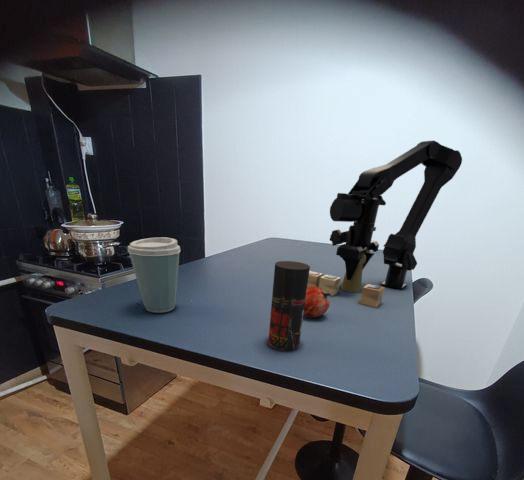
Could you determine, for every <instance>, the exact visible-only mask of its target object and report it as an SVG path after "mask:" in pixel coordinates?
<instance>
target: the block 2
mask: <svg viewBox="0 0 524 480" xmlns="http://www.w3.org/2000/svg"><path fill="white" fill-rule="evenodd" d="M341 279H342V277H340V276H335V275H330V274H324V275H323V276H322V277H320V281H319V287H318V288H321V289H323V290H324V291H325V293H330V294H331V295H332V296H330V295H329V296H330V297H333V296H335V295H337V294H339V290H340V284H341ZM329 296H328V297H329Z"/></svg>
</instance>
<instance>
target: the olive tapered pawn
mask: <svg viewBox="0 0 524 480" xmlns="http://www.w3.org/2000/svg"><path fill="white" fill-rule="evenodd" d="M361 258H363V259H362V261H361V263H360V265H359V266H358V268H357V270H356V272H355V273H354V275H353V277H352V279H351V280H347V276H346V272H345V274H344V276H343V280H342V283H341V286H340V289H341V290H342V291H345V292H348V293H349V292H350V293H359V292H362V282H363V280H362V279H363V270H364V269H363V264H364V263H365V261H366V255H365V254H364V253H363V255H362V257H361ZM362 269H363V270H362Z"/></svg>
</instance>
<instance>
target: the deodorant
mask: <svg viewBox="0 0 524 480" xmlns="http://www.w3.org/2000/svg"><path fill="white" fill-rule="evenodd" d="M310 269H311V266H310V265H309V264H307V263H304V262H301V261H294V260H293V261H292V260H280V261H277V262H275V263H274V269H273V270H274V271H273V283H272V284H273V285H272V296H271V304H270V305H271V306H270V307H271V308H270V317H269V329H268V340H267V341H268V342H267V343H268V346H269V347H270V348H272V349H274V350H277V351H280V352H281V351H282V352H292V351H295V350H297V349H298V348H299V347H300V341H301V335H302V334H301V333H302V327H303V320H304V306H305V299H306V291H307V284H308V277H309V271H311V270H310Z"/></svg>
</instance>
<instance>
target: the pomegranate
mask: <svg viewBox="0 0 524 480" xmlns="http://www.w3.org/2000/svg"><path fill="white" fill-rule="evenodd" d="M329 295H330V297H333V296H332V295H331V294H330V293H325V291H324V290H323V289H321V288H318V287H315V286H309V287H307V291H306V299H305V306H304V313H303V316H305V317H307V318H311V319H314V318H315V319H316V318H318V317H320V316H323V315H324V314H326V313H327V311H328V310H329V307H330V299H329V298H328V297H329Z"/></svg>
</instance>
